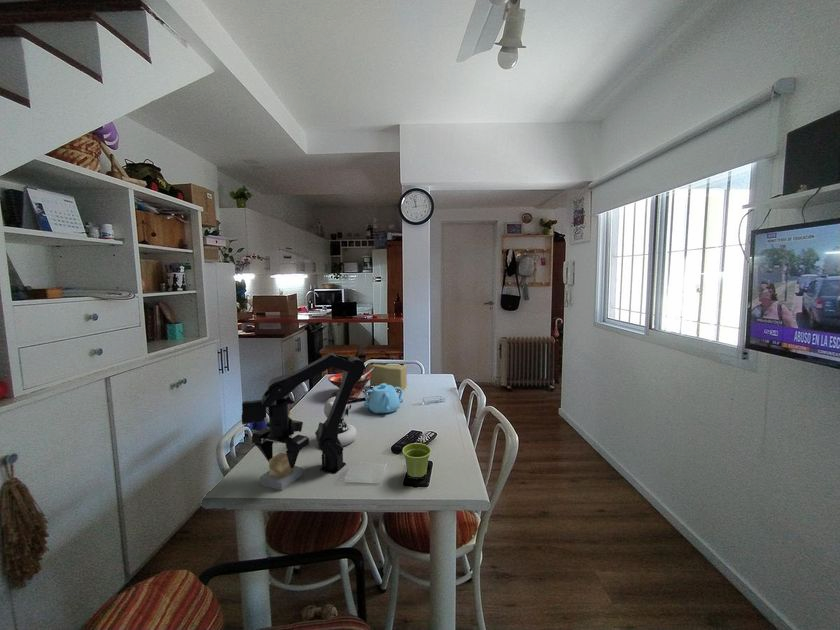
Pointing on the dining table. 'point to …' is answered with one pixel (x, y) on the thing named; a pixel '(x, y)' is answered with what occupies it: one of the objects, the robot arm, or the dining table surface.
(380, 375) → the cheese
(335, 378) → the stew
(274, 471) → the oak cube
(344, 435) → the decorative figurine
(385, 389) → the decorative pot
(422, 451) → the plant pot
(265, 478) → the block
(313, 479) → the dining table surface
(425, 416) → the dining table surface
